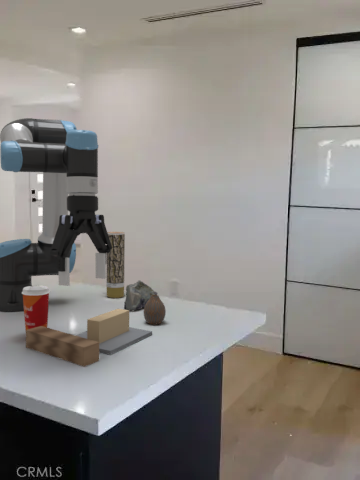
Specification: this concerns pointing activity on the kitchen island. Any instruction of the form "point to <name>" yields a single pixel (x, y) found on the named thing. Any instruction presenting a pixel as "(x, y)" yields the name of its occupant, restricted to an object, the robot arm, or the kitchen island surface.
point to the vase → (154, 310)
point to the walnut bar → (63, 345)
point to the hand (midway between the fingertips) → (83, 281)
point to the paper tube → (116, 265)
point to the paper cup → (35, 306)
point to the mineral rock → (137, 295)
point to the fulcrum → (113, 331)
